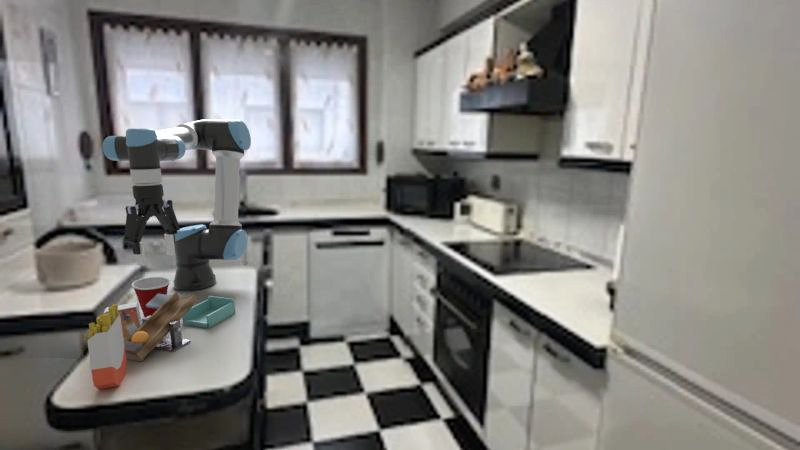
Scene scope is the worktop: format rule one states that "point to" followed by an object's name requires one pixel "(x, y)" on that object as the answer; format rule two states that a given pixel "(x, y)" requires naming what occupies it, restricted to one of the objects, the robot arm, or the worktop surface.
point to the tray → (209, 312)
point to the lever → (158, 323)
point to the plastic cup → (149, 291)
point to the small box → (129, 318)
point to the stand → (175, 339)
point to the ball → (140, 337)
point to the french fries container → (107, 349)
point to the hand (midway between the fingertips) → (156, 259)
